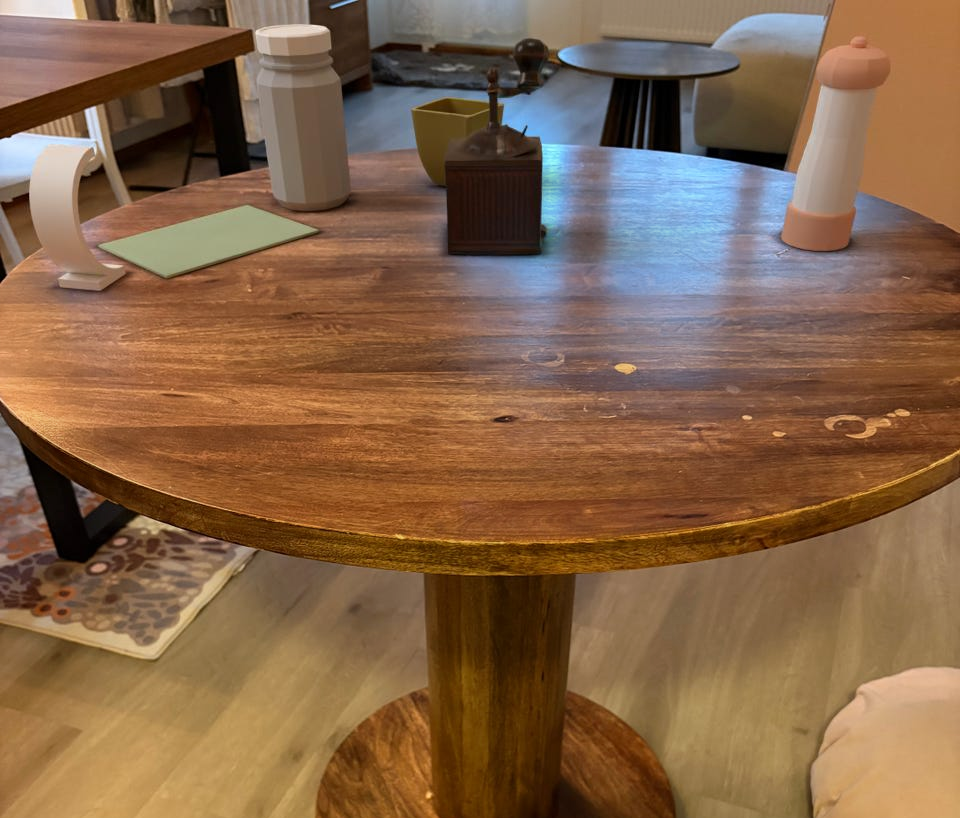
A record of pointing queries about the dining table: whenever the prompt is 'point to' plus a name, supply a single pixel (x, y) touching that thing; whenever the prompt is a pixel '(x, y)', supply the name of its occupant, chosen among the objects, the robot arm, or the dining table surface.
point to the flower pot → (446, 129)
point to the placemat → (207, 240)
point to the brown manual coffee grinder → (498, 174)
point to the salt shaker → (835, 148)
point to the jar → (302, 117)
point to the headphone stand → (66, 217)
